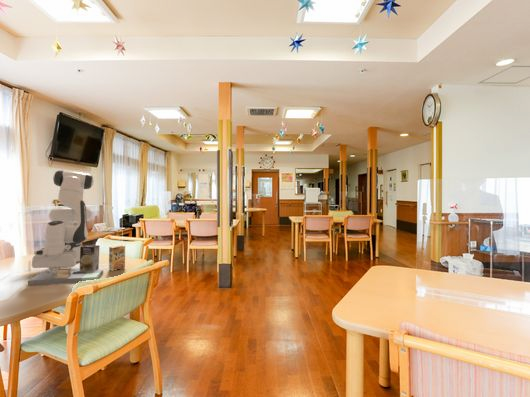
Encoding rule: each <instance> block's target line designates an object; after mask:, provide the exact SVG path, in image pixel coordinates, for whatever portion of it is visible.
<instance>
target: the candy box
mask: <svg viewBox="0 0 530 397" xmlns="http://www.w3.org/2000/svg"><path fill="white" fill-rule="evenodd" d="M108 250H109V251H108V271H110V270H111V272H114V270H115V271H118V270H117V269H120V270H123V269H122V268H125V269H126V245H123V244H122V245H116V246H109V247H108Z"/></svg>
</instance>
